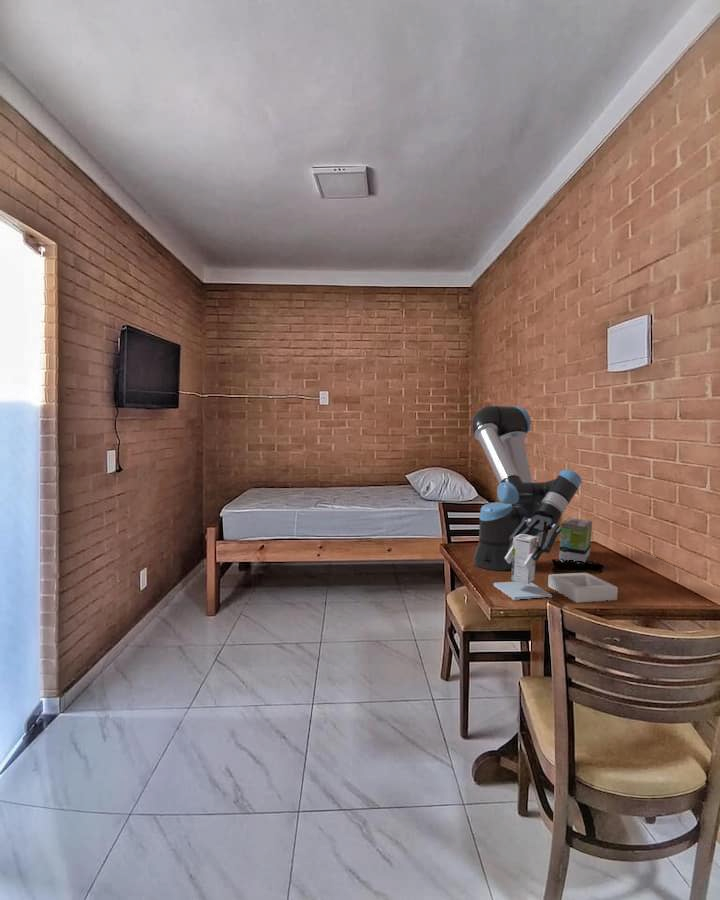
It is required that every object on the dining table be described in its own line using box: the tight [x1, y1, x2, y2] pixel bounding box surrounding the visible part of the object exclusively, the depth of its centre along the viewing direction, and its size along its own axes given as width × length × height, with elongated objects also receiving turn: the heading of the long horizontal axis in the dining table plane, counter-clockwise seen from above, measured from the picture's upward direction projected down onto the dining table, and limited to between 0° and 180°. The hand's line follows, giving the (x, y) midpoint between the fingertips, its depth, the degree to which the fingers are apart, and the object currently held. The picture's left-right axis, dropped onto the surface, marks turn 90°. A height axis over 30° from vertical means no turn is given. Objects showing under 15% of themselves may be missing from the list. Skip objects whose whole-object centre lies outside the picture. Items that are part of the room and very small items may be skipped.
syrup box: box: [510, 534, 538, 584], centre depth 155 cm, size 6×6×14 cm
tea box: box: [558, 517, 593, 563], centre depth 198 cm, size 15×10×15 cm, turn 148°
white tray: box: [547, 572, 619, 604], centre depth 157 cm, size 14×14×4 cm
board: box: [493, 581, 553, 601], centre depth 156 cm, size 13×13×1 cm
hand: (516, 563), depth 154 cm, fingers closed on syrup box, 7 cm apart
